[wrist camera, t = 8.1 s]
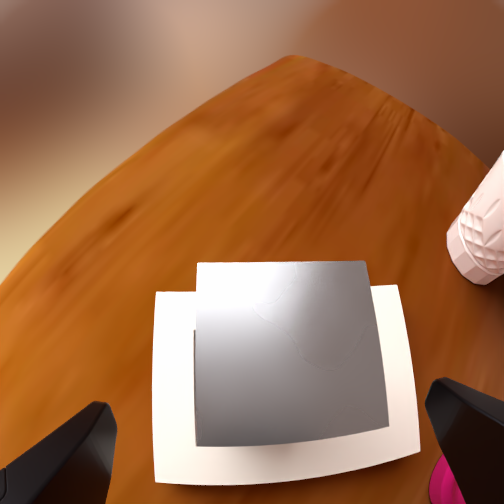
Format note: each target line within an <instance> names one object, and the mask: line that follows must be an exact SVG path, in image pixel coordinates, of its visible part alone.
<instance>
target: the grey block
mask: <svg viewBox="0 0 504 504" xmlns="http://www.w3.org/2000/svg"><path fill="white" fill-rule="evenodd" d="M195 368H196V426H197V447H241V446H263V445H277V444H288V443H298V442H307V441H315V440H322V439H329V438H335V437H341V436H347V435H352V434H357V433H362V432H367V431H372V430H376V429H381V428H385V427H389V415H388V404H387V393H386V384H385V375H384V367H383V360H382V352H381V345H380V339H379V332H378V326H377V320H376V314H375V309H374V303H373V298H372V292H371V287H370V282H369V277H368V273H367V268H366V263H365V261H328V262H252V263H197V289H196V348H195Z"/></svg>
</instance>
